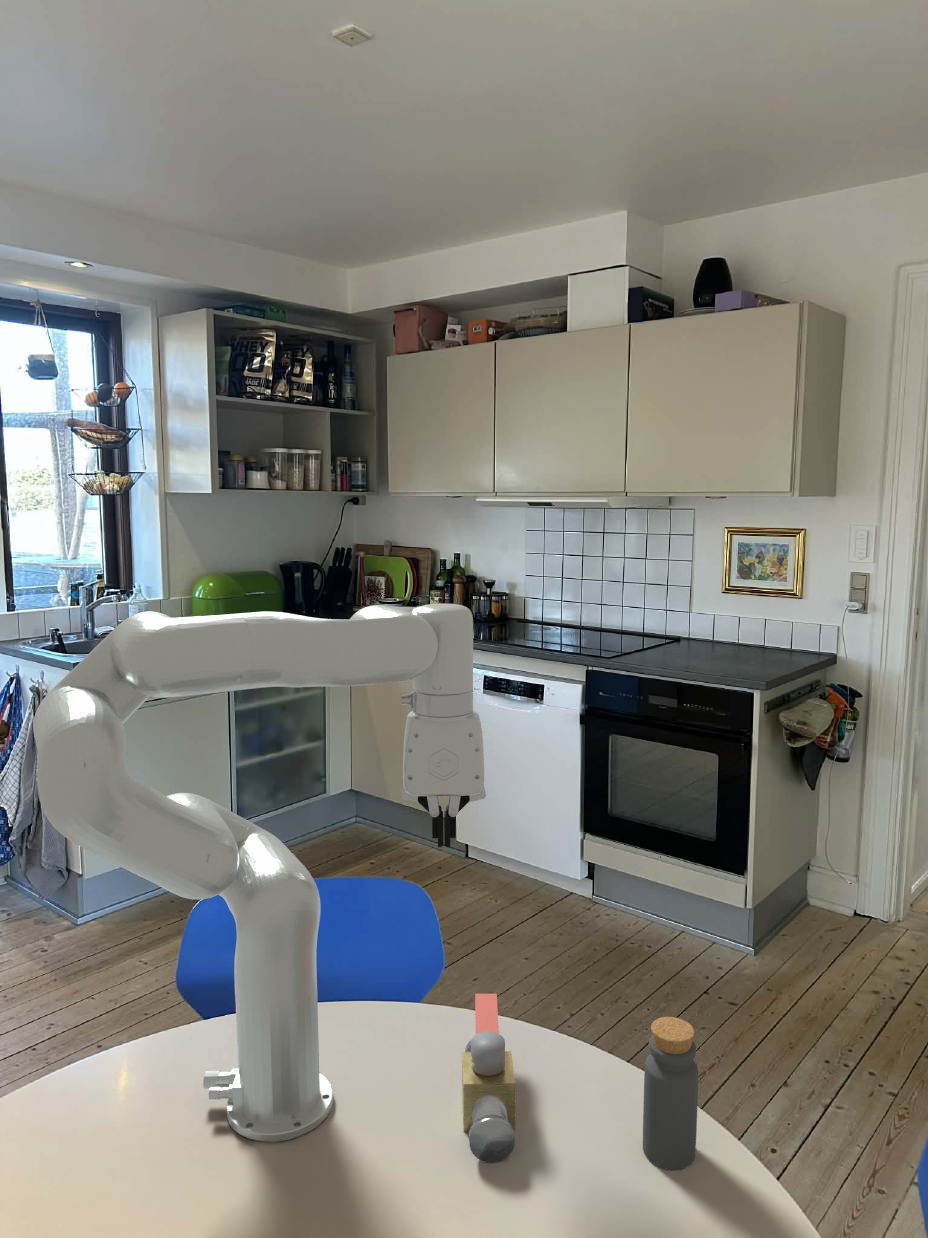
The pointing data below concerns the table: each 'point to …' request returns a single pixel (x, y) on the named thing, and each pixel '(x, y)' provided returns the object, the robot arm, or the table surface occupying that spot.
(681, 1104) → the bottle
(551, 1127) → the table surface
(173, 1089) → the table surface
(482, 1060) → the lever
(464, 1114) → the valve body
